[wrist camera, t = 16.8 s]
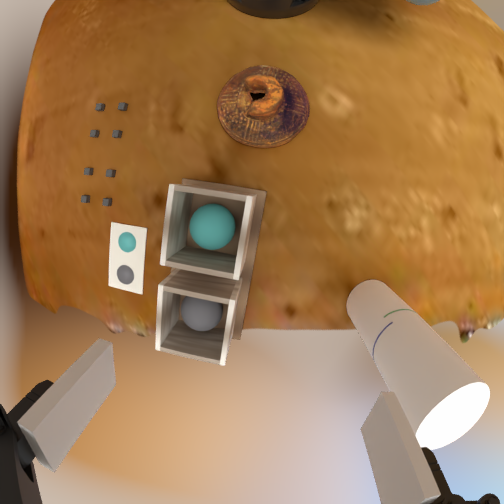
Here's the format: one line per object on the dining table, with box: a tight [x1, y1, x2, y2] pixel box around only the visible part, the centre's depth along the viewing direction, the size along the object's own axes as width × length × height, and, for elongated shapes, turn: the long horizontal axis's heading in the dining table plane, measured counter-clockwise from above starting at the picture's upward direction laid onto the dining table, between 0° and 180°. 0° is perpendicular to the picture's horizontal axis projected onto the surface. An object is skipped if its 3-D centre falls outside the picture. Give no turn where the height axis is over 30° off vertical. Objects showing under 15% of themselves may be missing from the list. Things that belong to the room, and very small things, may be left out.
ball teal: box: [189, 204, 235, 250], centre depth 35 cm, size 6×6×6 cm
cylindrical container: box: [346, 280, 490, 449], centre depth 27 cm, size 7×7×25 cm
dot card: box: [109, 222, 147, 294], centre depth 40 cm, size 10×6×1 cm, turn 170°
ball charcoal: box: [181, 296, 223, 331], centre depth 37 cm, size 6×6×6 cm
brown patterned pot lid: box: [217, 65, 310, 148], centre depth 31 cm, size 12×12×7 cm
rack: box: [156, 178, 267, 365], centre depth 35 cm, size 21×11×9 cm, turn 170°
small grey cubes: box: [81, 103, 128, 206], centre depth 37 cm, size 15×5×1 cm, turn 170°
